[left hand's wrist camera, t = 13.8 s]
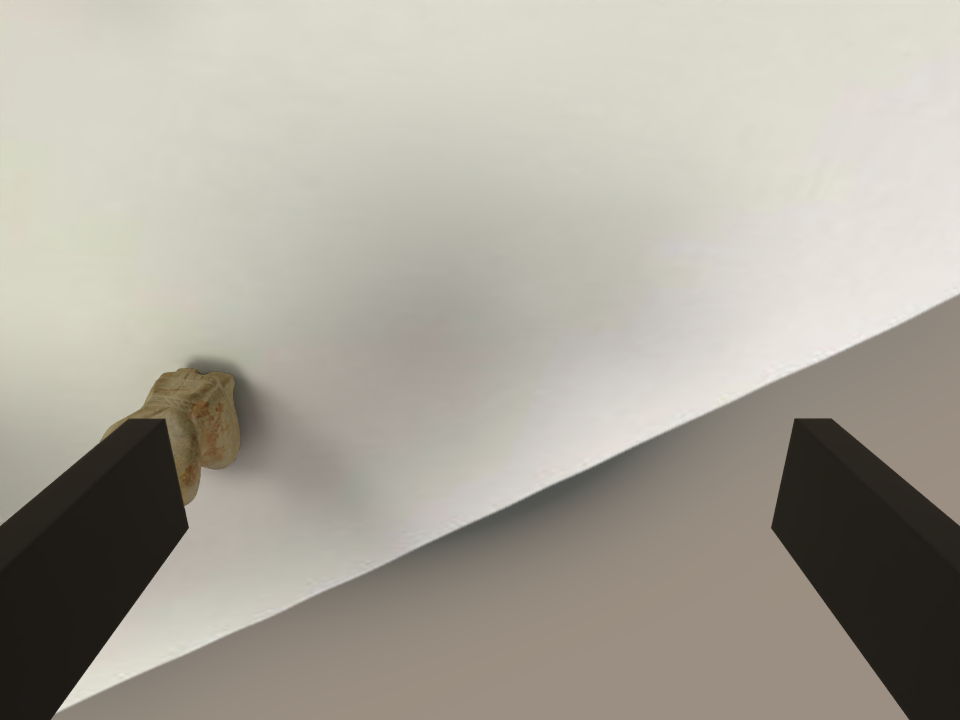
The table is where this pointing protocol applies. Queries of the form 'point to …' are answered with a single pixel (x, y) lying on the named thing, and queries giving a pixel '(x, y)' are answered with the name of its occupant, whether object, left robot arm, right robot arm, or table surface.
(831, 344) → the table surface
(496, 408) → the table surface
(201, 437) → the sculpture
